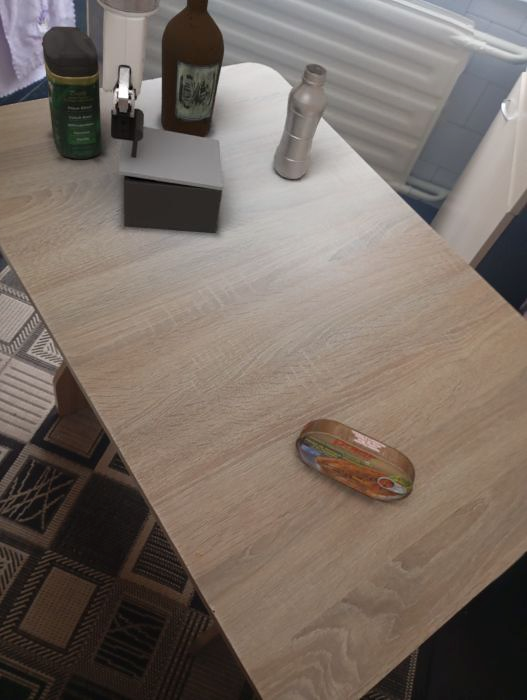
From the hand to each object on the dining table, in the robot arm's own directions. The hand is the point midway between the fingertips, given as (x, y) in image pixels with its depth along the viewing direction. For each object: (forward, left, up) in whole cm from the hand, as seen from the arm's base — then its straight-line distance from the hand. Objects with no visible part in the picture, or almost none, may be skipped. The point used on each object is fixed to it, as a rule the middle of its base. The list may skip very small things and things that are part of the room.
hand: (124, 117), depth 81 cm
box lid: (+7, 0, -6) cm, 9 cm away
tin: (+29, -48, -16) cm, 58 cm away
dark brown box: (+7, 0, -16) cm, 17 cm away
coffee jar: (-9, +14, -16) cm, 23 cm away
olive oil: (+10, +23, -16) cm, 30 cm away
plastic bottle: (+29, +12, -16) cm, 36 cm away
